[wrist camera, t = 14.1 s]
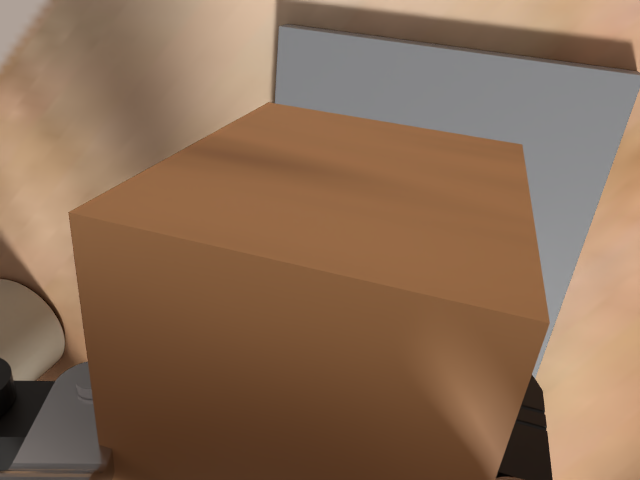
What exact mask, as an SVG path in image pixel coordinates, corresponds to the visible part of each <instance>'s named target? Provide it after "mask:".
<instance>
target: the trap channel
mask: <svg viewBox="0 0 640 480" xmlns="http://www.w3.org/2000/svg"><path fill="white" fill-rule="evenodd" d="M639 89H640V73H639V72H638V71H632V70H624V69H617V68H610V67H602V66H595V65H587V64H580V63H573V62H565V61H558V60H550V59H543V58H535V57H528V56H521V55H513V54H506V53H498V52H491V51H484V50H476V49H469V48H461V47H454V46H446V45H439V44H432V43H424V42H417V41H409V40H402V39H395V38H387V37H380V36H372V35H365V34H357V33H350V32H343V31H335V30H328V29H320V28H313V27H306V26H298V25H291V24H286V25H282V26H279V36H278V55H277V73H276V92H275V103H276V104H282V105H288V106H294V107H300V108H306V109H312V110H318V111H324V112H330V113H336V114H342V115H348V116H354V117H360V118H366V119H372V120H378V121H384V122H390V123H396V124H402V125H408V126H414V127H420V128H426V129H432V130H438V131H444V132H450V133H456V134H462V135H468V136H474V137H480V138H486V139H492V140H498V141H504V142H510V143H516V144H522V146H523V152H524V159H525V165H526V171H527V178H528V184H529V191H530V197H531V204H532V210H533V217H534V223H535V230H536V236H537V243H538V249H539V256H540V262H541V269H542V275H543V282H544V288H545V295H546V301H547V308H548V314H549V321H550V324H549V327H548V330H547V333H546V336H545V338H544V341H543V344H542V347H541V350H540V353H539V356H538V358H537V361H536V364H535V367H534V370H533V373H532V375H533V377H534V378H535V377H536V375H537V372H538V369H539V366H540V364H541V361H542V358H543V355H544V352H545V350H546V347H547V344H548V341H549V339H550V336H551V333H552V330H553V327H554V325H555V322H556V319H557V316H558V314H559V311H560V308H561V305H562V302H563V300H564V297H565V294H566V291H567V289H568V286H569V283H570V280H571V277H572V275H573V272H574V269H575V266H576V264H577V261H578V258H579V255H580V252H581V250H582V247H583V244H584V241H585V239H586V236H587V233H588V230H589V228H590V225H591V222H592V219H593V216H594V214H595V211H596V208H597V205H598V203H599V200H600V197H601V194H602V191H603V189H604V186H605V183H606V180H607V178H608V175H609V172H610V169H611V166H612V164H613V161H614V158H615V155H616V153H617V150H618V147H619V144H620V141H621V139H622V136H623V133H624V130H625V128H626V125H627V122H628V119H629V116H630V114H631V111H632V108H633V105H634V103H635V100H636V97H637V94H638V91H639Z"/></svg>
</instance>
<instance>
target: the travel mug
mask: <svg viewBox="0 0 640 480" xmlns="http://www.w3.org/2000/svg"><path fill="white" fill-rule="evenodd" d="M64 347H65V339H64V334H63V330H62V327H61V325H60V323H59V321H58V319H57V317H56V315H55V314H54V312H53V311H52V310H51V308H50V307H49V306H48V305H47V304H46V303H45V301H44V300H43V299H41V298H40V297H39V296H38V295H37V294H36V293H34V292H33V291H32V290H30V289H28V288H27V287H25V286H23V285H21V284H19V283H17V282H14V281H10V280H5V279H0V358H2V359H4V360H5V361H6V362H8V364H9V365H10V367H11V371H12V375H13V380H16V381H36V380H37V379H38V378H39V377H40V376H41V375H43V374H44V373H45V372H46V371H47V370H48V369H49V368H51V367H52V366H53V365H54V364H55V363H56V362H57V361H58V360H59V359H60V358H61V356H62V354H63V352H64Z"/></svg>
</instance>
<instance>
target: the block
mask: <svg viewBox="0 0 640 480" xmlns="http://www.w3.org/2000/svg"><path fill="white" fill-rule="evenodd" d="M68 213H69V220H70V228H71V236H72V243H73V251H74V259H75V266H76V274H77V282H78V289H79V297H80V305H81V313H82V320H83V328H84V336H85V343H86V351H87V359H88V366H89V374H90V382H91V389H92V397H93V405H94V413H95V420H96V428H97V436H98V443H99V445H102V446H105V447H108V448H111V449H112V451H113V460H114V469H115V473H114V476H113V479H112V480H495V478H496V475H497V473H498V470H499V467H500V464H501V461H502V458H503V455H504V453H505V450H506V447H507V444H508V441H509V438H510V435H511V433H512V430H513V427H514V424H515V421H516V418H517V416H518V413H519V410H520V407H521V404H522V401H523V398H524V396H525V393H526V390H527V387H528V384H529V381H530V378H531V376H532V373H533V370H534V367H535V364H536V361H537V358H538V356H539V353H540V350H541V347H542V344H543V341H544V338H545V336H546V333H547V330H548V327H549V324H550V321H549V314H548V308H547V301H546V295H545V288H544V282H543V275H542V269H541V262H540V256H539V249H538V243H537V236H536V230H535V223H534V217H533V210H532V204H531V197H530V191H529V184H528V178H527V171H526V165H525V159H524V152H523V146H522V144H516V143H510V142H504V141H498V140H492V139H486V138H480V137H474V136H468V135H462V134H456V133H450V132H444V131H438V130H432V129H426V128H420V127H414V126H408V125H402V124H396V123H390V122H384V121H378V120H372V119H366V118H360V117H354V116H348V115H342V114H336V113H330V112H324V111H318V110H312V109H306V108H300V107H294V106H288V105H282V104H276V103H270V102H268V103H266V104H265V105H263V106H261V107H259V108H257V109H256V110H254V111H252V112H250V113H248V114H246V115H245V116H243V117H241V118H239V119H237V120H236V121H234V122H232V123H230V124H228V125H226V126H225V127H223V128H221V129H219V130H217V131H216V132H214V133H212V134H210V135H208V136H206V137H205V138H203V139H201V140H199V141H197V142H196V143H194V144H192V145H190V146H188V147H186V148H185V149H183V150H181V151H179V152H177V153H176V154H174V155H172V156H170V157H168V158H166V159H165V160H163V161H161V162H159V163H157V164H156V165H154V166H152V167H150V168H148V169H146V170H145V171H143V172H141V173H139V174H137V175H136V176H134V177H132V178H130V179H128V180H126V181H125V182H123V183H121V184H119V185H117V186H116V187H114V188H112V189H110V190H108V191H106V192H105V193H103V194H101V195H99V196H97V197H96V198H94V199H92V200H90V201H88V202H86V203H85V204H83V205H81V206H79V207H77V208H76V209H74V210H72V211H70V212H68Z"/></svg>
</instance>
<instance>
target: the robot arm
mask: <svg viewBox="0 0 640 480" xmlns="http://www.w3.org/2000/svg"><path fill="white" fill-rule="evenodd" d="M544 412H545V407H544V398H543V391H542V389H541V388H540V386H539V384H538V383H537V381H536V380H535V378H534V377H533V375H532V376H531V378H530V381H529V384H528V387H527V390H526V393H525V396H524V398H523V401H522V404H521V407H520V410H519V413H518V416H517V418H516V421H515V424H514V427H513V430H512V433H511V435H510V438H509V441H508V444H507V447H506V450H505V453H504V455H503V458H502V461H501V464H500V467H499V470H498V473H497V475H496V478H495V480H552V471H551V462H550V452H549V443H548V434H547V431H546V428H547V425H546V416H545V414H544ZM114 473H115V469H114V460H113V451H112V449H111V448H108V447H105V446H102V445H99V443H98V436H97V428H96V420H95V413H94V405H93V397H92V389H91V382H90V374H89V366H88V362H84V363H81V364H78V365H76V366H74V367H72V368H70V369H68V370H67V371H65V372H64V373H63V374H61V375H60V376H59V377H58V379H57V380H56V381H16V380H13V375H12V371H11V367H10V365H9V364H8V362H6V361H5V360H4V359H2V358H0V480H112V479H113V476H114Z"/></svg>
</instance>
